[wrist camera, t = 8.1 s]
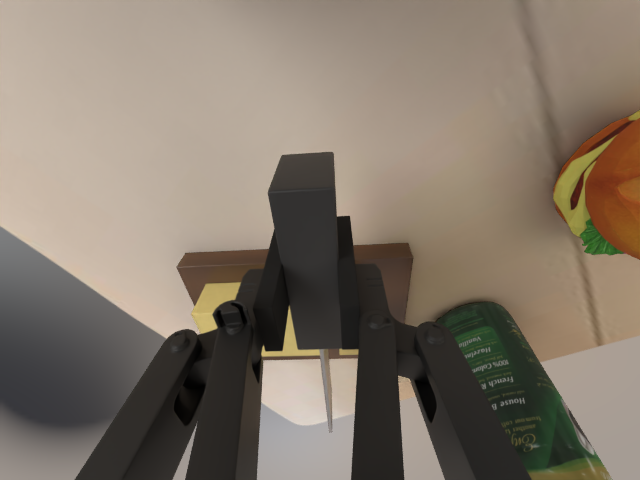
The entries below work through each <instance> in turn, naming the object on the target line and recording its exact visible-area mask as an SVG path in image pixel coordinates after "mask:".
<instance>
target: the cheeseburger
mask: <svg viewBox="0 0 640 480" xmlns="http://www.w3.org/2000/svg"><path fill="white" fill-rule="evenodd" d="M553 192H554V196H553V200H554V201H555V206H556V210H557V212H558V213H559V215H560V216H561V217H562V218H563V219H564V221H565V222H566V223H567V224H568V225H569V227H570V229H571V231H572V233H573V234H575V235H576V236H578V237H580V238H582V240H583V241H584V244H582V245H583V246H586V245H588V246H587V248H586V250H585V251H584V252H585V253H591V254H593V255H595V254H608V255H614V254H628V255H631V256H633V257H635V258H637V259H639V260H640V110H639V111H637V112H636V113H634V114H633V115H631V116H628V117H626V118H623V119H621V120H618V121H616V122H613V123H611V124H610V125H608V126H607V127H605V128H604V129H603V130H601V131H600V132H598V133H597V134H596V135H594V136H593V137H591V138H590V139H589V140H587V141H586V142H584V143H583V144H582V145H581V146H580V147H579V149H578V150H577V151H576V152H575V153H574V154H573V155H572V157H571V158H570V159H569V160H568V161H567V162H566V164H565V165H564V166H563V167H562V170H561V172H560V174H559V177H558V179H557V181H556V184H555V186H554V188H553Z"/></svg>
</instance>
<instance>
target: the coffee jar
mask: <svg viewBox="0 0 640 480" xmlns="http://www.w3.org/2000/svg"><path fill="white" fill-rule="evenodd" d="M437 323H440V324H442V325H444V326H445V327H447V328H448V329H449V330H450V332H451V333H452V334H453V336H454V338H455V340H456V341H457V343H458V345H459V347H460V349H461V351H462V352H463V354H464V356H465V358H466V360H467V362H468V363H469V365H470V367H471V369H472V371H473V373H474V374H475V376H476V378H477V380H478V382H479V384H480V385H481V387H482V389H483V391H484V393H485V395H486V396H487V398H488V400H489V402H490V404H491V406H492V407H493V409H494V411H495V413H496V415H497V417H498V418H499V420H500V422H501V424H502V426H503V428H504V430H505V431H506V433H507V435H508V437H509V439H510V441H511V442H512V444H513V446H514V448H515V450H516V452H517V453H518V455H519V457H520V459H521V461H522V463H523V464H524V466H525V468H526V470H527V472H528V474H529V475H530V477H531V479H532V480H612V478H611V477H610V475H609V473H608V472H607V470H606V468H605V467H604V465H603V464H602V462H601V460H600V459H599V457H598V455H597V454H596V452H595V450H594V449H593V447H592V446H591V444H590V442H589V441H588V440H587V438H586V436H585V435H584V433H583V431H582V430H581V428H580V426H579V425H578V423H577V421H576V420H575V418H574V417H573V415H572V413H571V411H570V410H569V408H568V407H567V405H566V404H565V402H564V401H563V399H562V397H561V396H560V394H559V392H558V391H557V389H556V388H555V386H554V384H553V383H552V381H551V380H550V378H549V377H548V375H547V374H546V372H545V370H544V368H543V367H542V365H541V364H540V362H539V360H538V359H537V357H536V355H535V354H534V352H533V350H532V349H531V347H530V345H529V344H528V342H527V340H526V339H525V337H524V335H523V334H522V332H521V331H520V329H519V328H518V326H517V324H516V323H515V321H514V320H513V318H512V317H511V315H510V314H509V313H508V312H507V311H506V310H505V309H504V308H503V307H502V306H501V305H499V304H497V303H494V302H479V303H473V304H467V305H464V306H461V307H458V308H456V309H454V310H452V311H450V312H448V313H447V314H445V315H444V316H442V317H441V318H440V319H439V320H438V321H437Z"/></svg>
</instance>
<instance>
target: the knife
mask: <svg viewBox="0 0 640 480" xmlns="http://www.w3.org/2000/svg"><path fill="white" fill-rule="evenodd" d="M268 196H269V202H270V207H271V212H272V217H273V223H274V228H275V233H276V238H277V244H278V249H279V254H280V259H281V264H282V269H283V275H284V280H285V285H286V290H287V296H288V301H289V307H290V312H291V317H292V323H293V328H294V333H295V338H296V344H297V349H298V350H316V349H319V352H320V360H321V368H322V377H323V385H324V393H325V401H326V410H327V418H328V426H329V432H332V387H331V376H330V365H329V355H328V349H342V341H341V321H340V301H339V275H338V261H339V255H338V234H337V212H336V191H335V171H334V154H333V152H322V153H306V154H291V155H282V156H281V158H280V161H279V164H278V166H277V169H276V172H275V174H274V177H273V180H272V182H271V185H270V188H269V190H268Z"/></svg>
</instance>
